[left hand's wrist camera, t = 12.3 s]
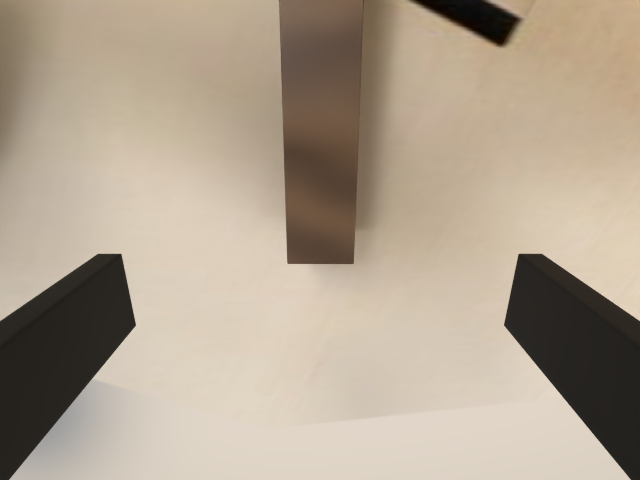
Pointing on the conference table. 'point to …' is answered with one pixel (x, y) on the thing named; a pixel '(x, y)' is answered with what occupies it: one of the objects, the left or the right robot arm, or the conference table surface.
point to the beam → (320, 126)
